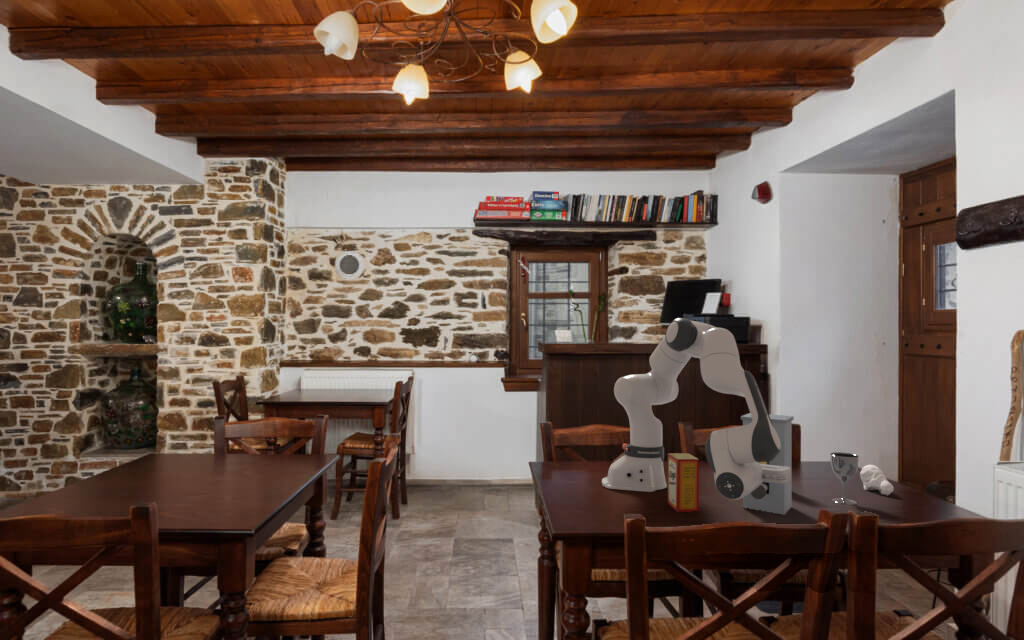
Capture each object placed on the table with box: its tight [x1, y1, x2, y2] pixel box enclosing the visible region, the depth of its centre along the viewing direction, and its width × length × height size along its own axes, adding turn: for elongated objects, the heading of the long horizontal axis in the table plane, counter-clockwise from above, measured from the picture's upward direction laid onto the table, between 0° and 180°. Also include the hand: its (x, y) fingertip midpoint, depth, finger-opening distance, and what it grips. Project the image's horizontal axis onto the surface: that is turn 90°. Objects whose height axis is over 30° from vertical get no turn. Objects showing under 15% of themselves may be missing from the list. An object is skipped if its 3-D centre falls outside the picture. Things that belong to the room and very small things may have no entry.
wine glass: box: [830, 451, 860, 506], centre depth 199 cm, size 8×8×15 cm
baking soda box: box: [667, 452, 700, 513], centre depth 191 cm, size 10×6×16 cm
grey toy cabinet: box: [740, 412, 795, 516], centre depth 192 cm, size 11×13×28 cm
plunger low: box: [751, 482, 769, 499], centre depth 186 cm, size 10×4×4 cm, turn 145°
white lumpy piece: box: [859, 464, 894, 497], centre depth 211 cm, size 6×8×12 cm
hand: (758, 466), depth 181 cm, fingers closed
